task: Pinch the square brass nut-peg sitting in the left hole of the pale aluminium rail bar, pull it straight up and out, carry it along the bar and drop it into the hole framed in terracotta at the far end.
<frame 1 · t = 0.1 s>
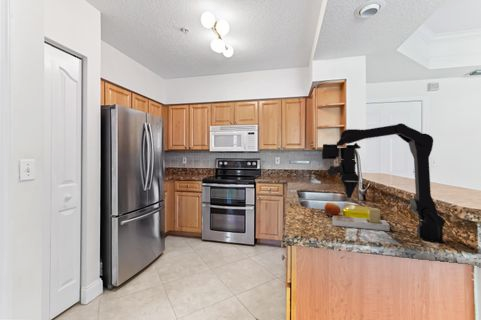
hand: (347, 196, 93), 15 cm above the counter, tool pointing down, fingers open, 9 cm apart
fruit: (332, 216, 118), on the counter
brass peg: (374, 227, 98), resting in rail bar
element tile: (360, 217, 116), on the counter
rail bar: (358, 225, 100), on the counter
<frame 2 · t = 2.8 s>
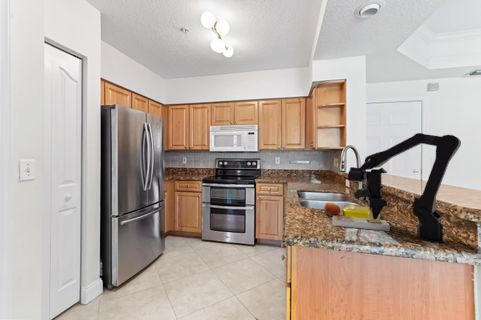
hand: (373, 218, 98), 4 cm above the counter, tool pointing down, fingers closed on brass peg, 4 cm apart
brass peg: (373, 227, 98), resting in rail bar, touching gripper
everything else where it was.
when the fingers open (5 cm above the counter, at t = 6.4 s): brass peg drops 1 cm, resting in rail bar.
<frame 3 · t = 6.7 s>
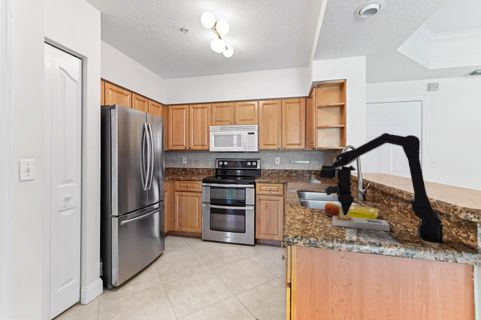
hand: (344, 213, 102), 5 cm above the counter, tool pointing down, fingers open, 7 cm apart
brass peg: (344, 224, 102), resting in rail bar
everything else where it was.
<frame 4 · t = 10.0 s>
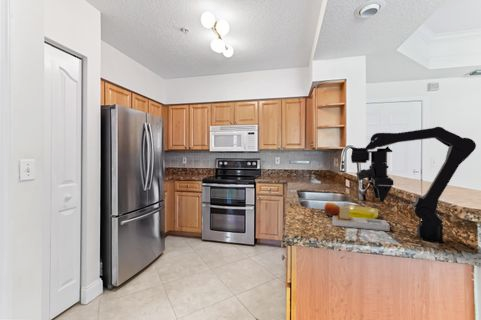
hand: (378, 200, 93), 13 cm above the counter, tool pointing down, fingers open, 9 cm apart
at the end: brass peg 0.1 cm from the target spot on the rail bar, point 0.0 cm above the rail bar's base; brass peg tilted 0°; the gripper is holding nothing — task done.
